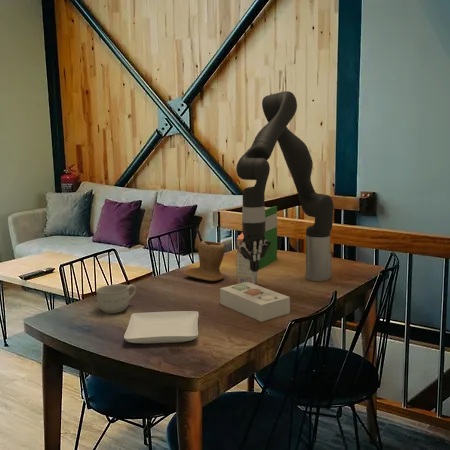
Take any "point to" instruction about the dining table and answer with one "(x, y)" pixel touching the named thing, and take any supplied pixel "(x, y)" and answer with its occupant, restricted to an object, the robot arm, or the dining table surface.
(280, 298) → the console
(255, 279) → the cracker box
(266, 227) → the hardback book
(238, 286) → the sage button
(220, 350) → the dining table surface
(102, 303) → the teacup
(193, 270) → the brown boot
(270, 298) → the ivory button
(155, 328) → the salad plate
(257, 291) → the terracotta button
